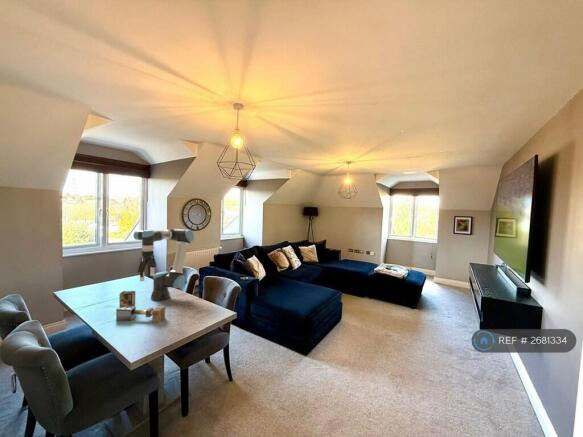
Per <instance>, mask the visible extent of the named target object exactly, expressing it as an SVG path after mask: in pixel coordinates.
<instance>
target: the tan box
mask: <svg viewBox="0 0 583 437" xmlns="http://www.w3.org/2000/svg"><path fill="white" fill-rule="evenodd" d="M151 317H152V318H151V319H152V323H153V324H154V323H155V324H156V323H157V324H160V323H161V322H162V321H163V320H164V319H165V317H166V306H165V305H158V306H157V307H155V308H153V314H152V316H151Z"/></svg>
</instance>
